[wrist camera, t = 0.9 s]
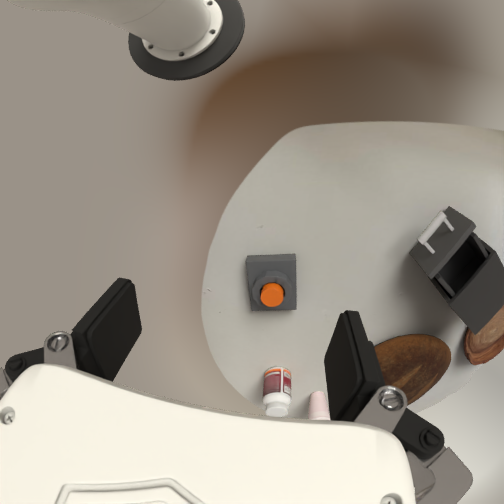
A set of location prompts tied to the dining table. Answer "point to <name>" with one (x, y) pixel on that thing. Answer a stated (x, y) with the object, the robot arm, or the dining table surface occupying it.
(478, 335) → the basket
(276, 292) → the button
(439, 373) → the bread
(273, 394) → the pill bottle
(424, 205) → the dining table surface
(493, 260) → the grey drawer cabinet
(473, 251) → the fryer drawer
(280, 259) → the control block
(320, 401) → the smoothie
